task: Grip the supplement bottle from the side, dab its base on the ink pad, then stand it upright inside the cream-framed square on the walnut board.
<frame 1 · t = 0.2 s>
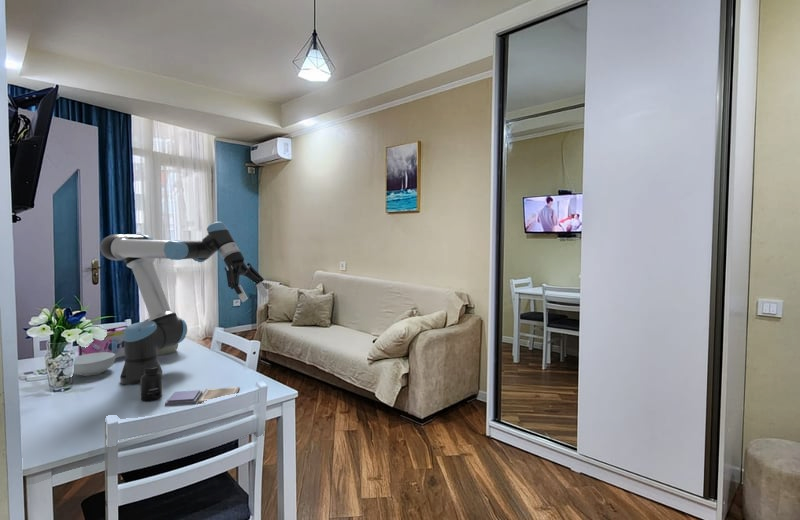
hand: (256, 298, 171), 35 cm above the table, tool tilted 35°, fingers open, 13 cm apart
supplement bottle: (151, 399, 154), on the table
cereal bowl: (92, 373, 181), on the table
ink pad: (184, 399, 153), on the table
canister: (163, 352, 214), on the table
gum box: (108, 358, 204), on the table
marked board: (219, 395, 157), on the table
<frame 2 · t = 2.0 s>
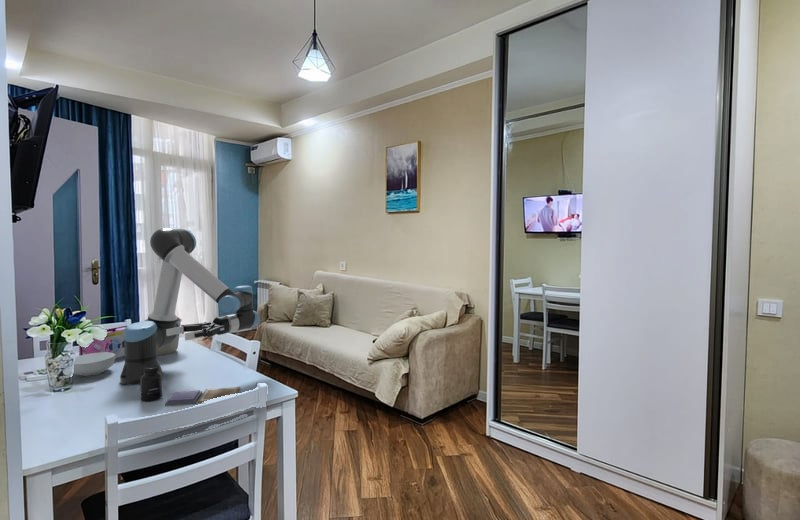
hand: (175, 334, 160), 22 cm above the table, tool horizontal, fingers open, 13 cm apart
nothing on the table moved.
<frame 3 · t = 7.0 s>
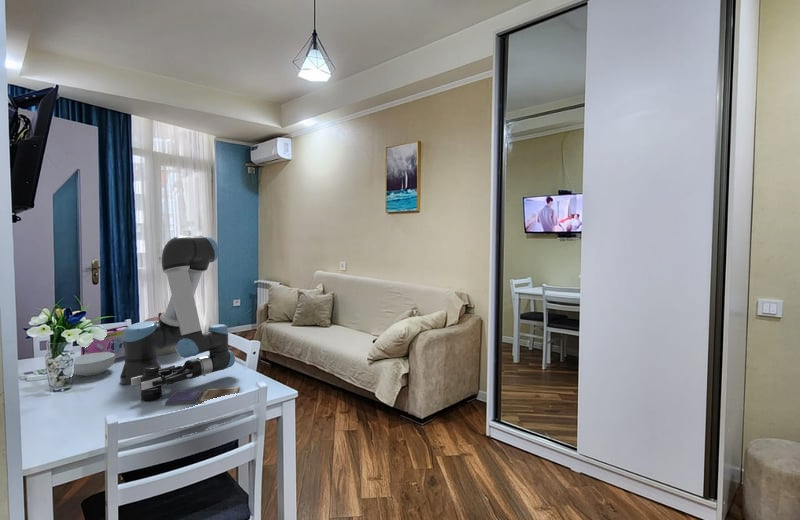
hand: (136, 384, 149), 7 cm above the table, tool horizontal, fingers closed on supplement bottle, 7 cm apart
supplement bottle: (151, 399, 154), on the table, touching gripper
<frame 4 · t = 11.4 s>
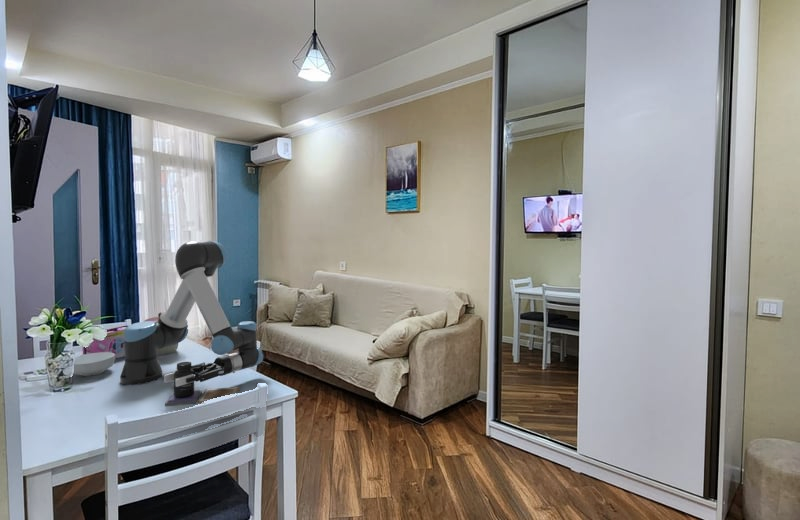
hand: (170, 380, 149), 8 cm above the table, tool horizontal, fingers closed on supplement bottle, 7 cm apart
supplement bottle: (184, 395, 153), point 1 cm above the table, touching gripper, ink pad
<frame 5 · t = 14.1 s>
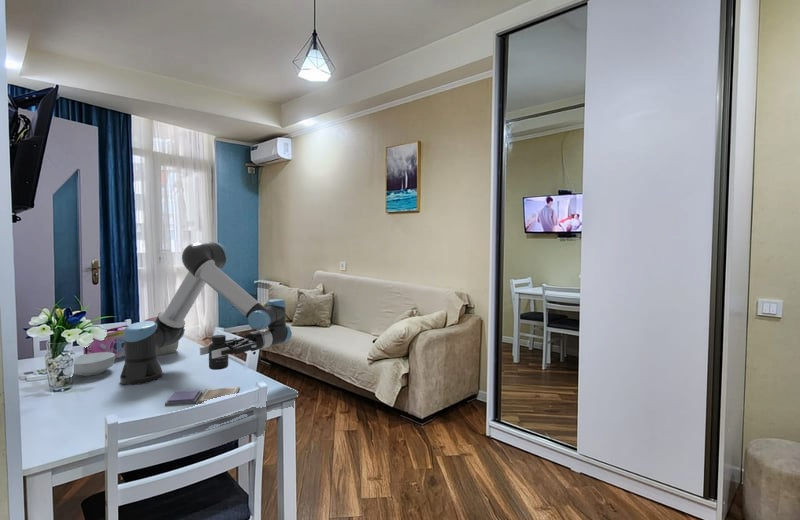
hand: (206, 353, 151), 18 cm above the table, tool horizontal, fingers closed on supplement bottle, 7 cm apart
supplement bottle: (219, 367, 156), point 11 cm above the table, touching gripper
when the fingers open (9 cm above the table, at t = 16.3 s): supplement bottle drops 1 cm, resting on marked board.
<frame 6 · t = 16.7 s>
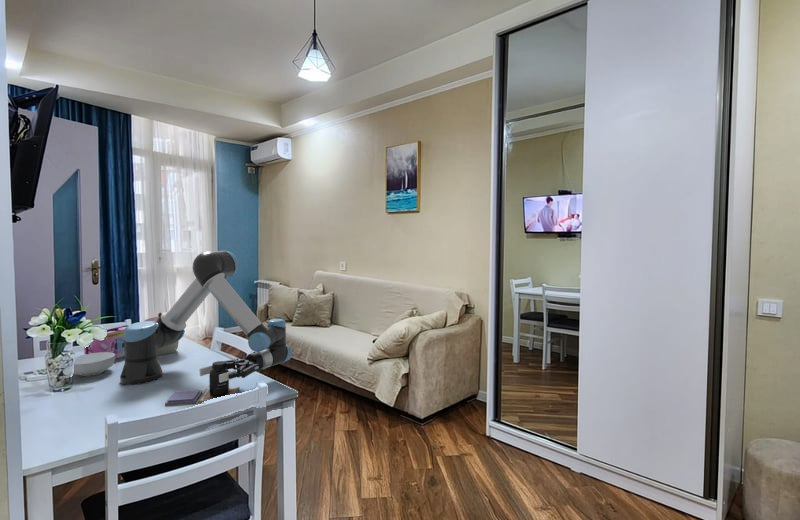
hand: (209, 375, 153), 9 cm above the table, tool horizontal, fingers open, 11 cm apart
supplement bottle: (219, 394, 157), point 1 cm above the table, touching marked board
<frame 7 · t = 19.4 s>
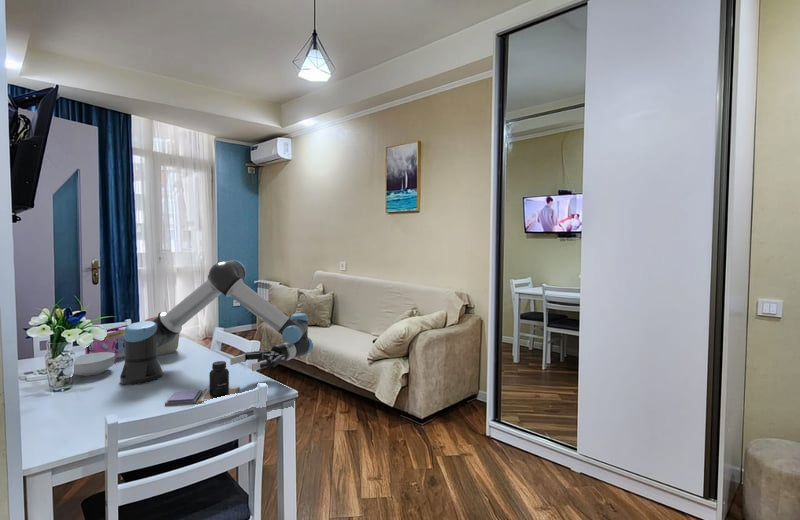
hand: (241, 364, 164), 10 cm above the table, tool horizontal, fingers open, 13 cm apart
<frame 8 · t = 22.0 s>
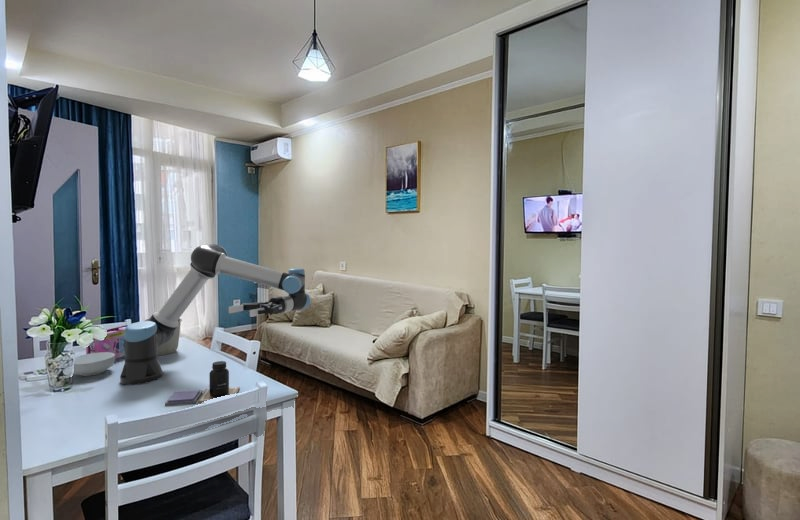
hand: (239, 311, 168), 30 cm above the table, tool horizontal, fingers open, 13 cm apart
at the end: supplement bottle inside the target area on the marked board (0.0 cm from its centre), point 0.6 cm above the marked board's base; supplement bottle tilted 0°; the gripper is holding nothing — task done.
